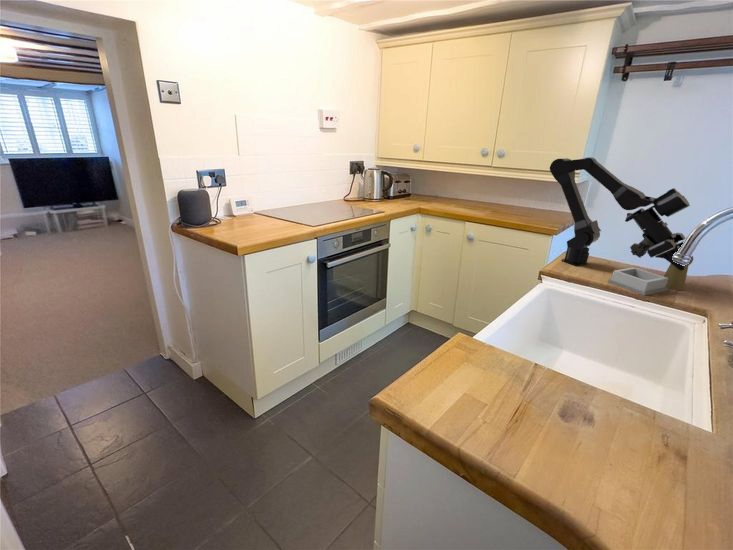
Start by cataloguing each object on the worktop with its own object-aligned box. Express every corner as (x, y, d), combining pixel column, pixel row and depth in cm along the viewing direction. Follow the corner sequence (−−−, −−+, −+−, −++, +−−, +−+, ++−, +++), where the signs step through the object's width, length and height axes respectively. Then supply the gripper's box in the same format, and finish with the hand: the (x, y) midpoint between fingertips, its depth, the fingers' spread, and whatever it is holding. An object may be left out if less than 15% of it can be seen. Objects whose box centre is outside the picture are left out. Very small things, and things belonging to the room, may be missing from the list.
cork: (689, 290, 108) (702, 256, 104) (669, 290, 108) (681, 256, 104) (673, 283, 114) (685, 250, 110) (654, 282, 114) (665, 249, 110)
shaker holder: (607, 282, 113) (611, 270, 112) (630, 277, 117) (633, 266, 116) (644, 295, 104) (648, 282, 102) (666, 290, 108) (671, 278, 106)
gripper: (633, 235, 123) (662, 273, 119) (616, 243, 111) (648, 286, 108) (669, 216, 115) (701, 257, 111) (655, 223, 103) (690, 269, 99)
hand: (684, 268), depth 107 cm, fingers closed on cork, 5 cm apart
